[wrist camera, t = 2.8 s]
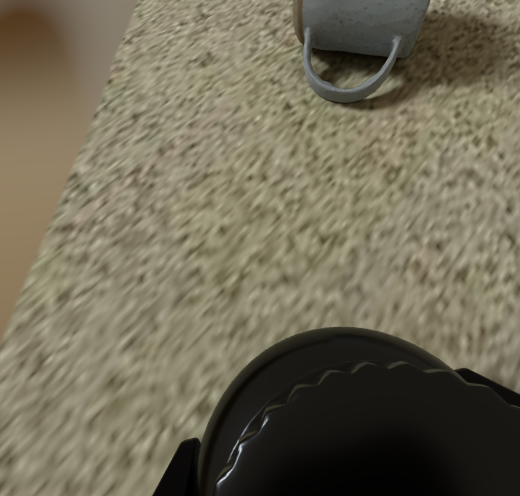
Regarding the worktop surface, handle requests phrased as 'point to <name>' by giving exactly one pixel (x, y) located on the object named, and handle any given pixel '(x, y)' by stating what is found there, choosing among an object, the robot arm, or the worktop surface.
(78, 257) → the worktop surface
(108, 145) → the worktop surface
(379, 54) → the ceramic mug
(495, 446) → the supplement bottle
